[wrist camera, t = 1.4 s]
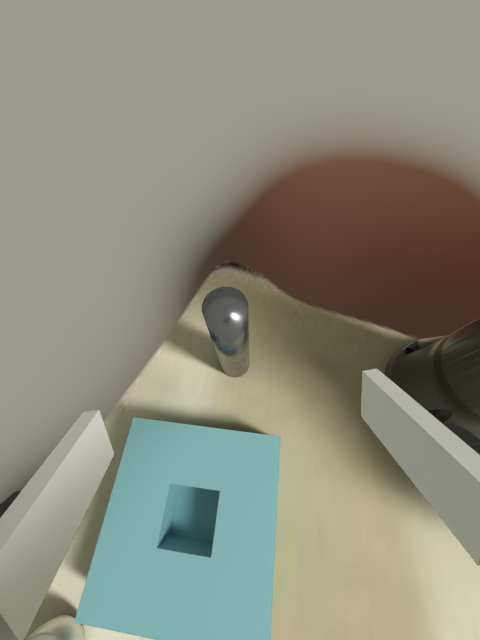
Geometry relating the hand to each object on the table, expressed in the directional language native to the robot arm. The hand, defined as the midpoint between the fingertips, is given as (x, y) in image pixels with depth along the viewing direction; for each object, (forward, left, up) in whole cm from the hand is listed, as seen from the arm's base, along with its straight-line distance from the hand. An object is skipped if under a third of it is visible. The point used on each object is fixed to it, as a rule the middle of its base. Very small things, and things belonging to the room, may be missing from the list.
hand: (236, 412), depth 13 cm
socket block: (+5, +9, -26) cm, 27 cm away
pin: (+3, -10, -26) cm, 28 cm away
